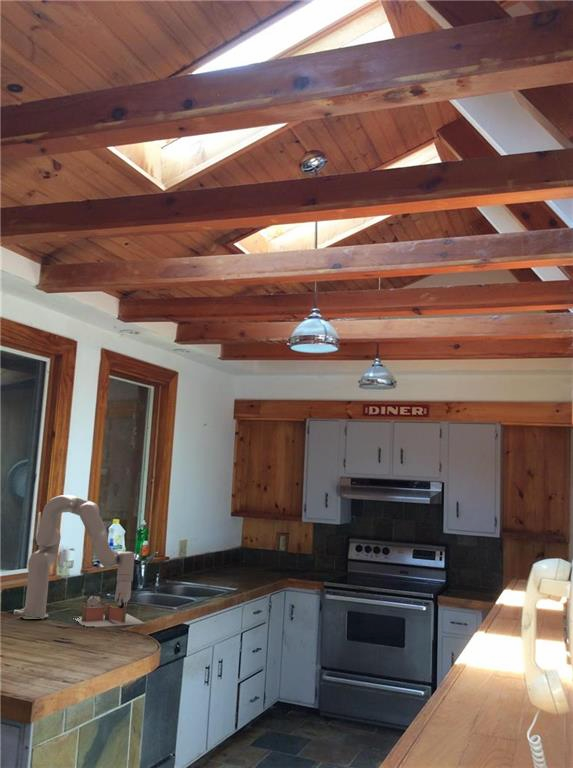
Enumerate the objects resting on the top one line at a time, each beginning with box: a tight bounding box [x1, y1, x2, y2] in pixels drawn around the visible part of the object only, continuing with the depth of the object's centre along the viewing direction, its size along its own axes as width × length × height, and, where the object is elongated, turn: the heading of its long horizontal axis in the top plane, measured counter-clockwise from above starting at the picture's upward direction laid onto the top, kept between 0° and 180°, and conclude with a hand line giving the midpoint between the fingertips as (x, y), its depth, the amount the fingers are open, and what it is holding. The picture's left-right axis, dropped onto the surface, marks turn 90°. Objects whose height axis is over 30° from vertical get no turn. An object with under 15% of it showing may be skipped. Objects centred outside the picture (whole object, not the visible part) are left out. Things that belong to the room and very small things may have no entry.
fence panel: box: [109, 605, 127, 622], centre depth 318 cm, size 11×2×7 cm, turn 57°
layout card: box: [72, 613, 146, 628], centre depth 319 cm, size 28×24×1 cm
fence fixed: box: [81, 603, 111, 621], centre depth 319 cm, size 13×2×7 cm, turn 123°
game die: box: [84, 594, 104, 608], centre depth 342 cm, size 9×8×10 cm
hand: (121, 616), depth 321 cm, fingers closed
